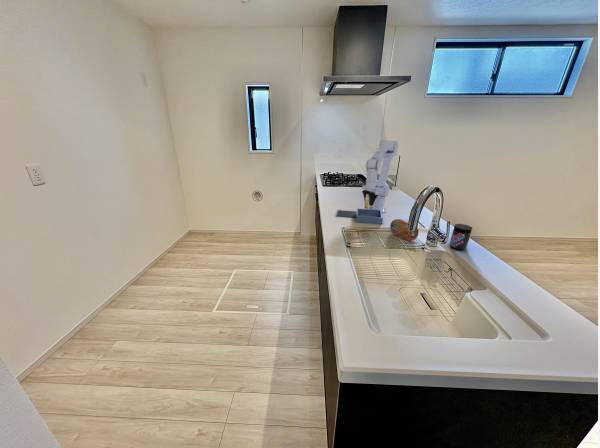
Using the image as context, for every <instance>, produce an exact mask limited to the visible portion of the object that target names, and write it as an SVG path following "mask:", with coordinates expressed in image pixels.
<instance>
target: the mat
mask: <svg viewBox="0 0 600 448" xmlns="http://www.w3.org/2000/svg"><path fill="white" fill-rule="evenodd" d="M356 214H357V211H355V210H342V209H339V210H337V214H336V217H339V218H340V217H341V218H353V219H355V218H356Z"/></svg>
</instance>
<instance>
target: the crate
mask: <svg viewBox="0 0 600 448" xmlns="http://www.w3.org/2000/svg"><path fill="white" fill-rule="evenodd" d="M363 215H364V216H363ZM375 216H376V217H375ZM355 218H356V219H355V222H356V223H364V224H377V225H382V224H383V220H384V217H383V212H381V210H371V209H365V208H356V215H355Z"/></svg>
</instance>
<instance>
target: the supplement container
mask: <svg viewBox="0 0 600 448" xmlns="http://www.w3.org/2000/svg"><path fill="white" fill-rule="evenodd" d="M472 232H473V226H471V225H468V224H464V223H456V224H454V225H453V229H452V232H451V237H450V240H449V247H450V249H452V250H455V251H459V252H463V251H466V250H467V248H468V245H469V241H470V238H471V234H472Z"/></svg>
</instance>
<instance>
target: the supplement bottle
mask: <svg viewBox="0 0 600 448" xmlns="http://www.w3.org/2000/svg"><path fill="white" fill-rule="evenodd" d="M363 207H364V208H363V209H373V205H369V195H368V194H366V198H365V201H364V206H363Z"/></svg>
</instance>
